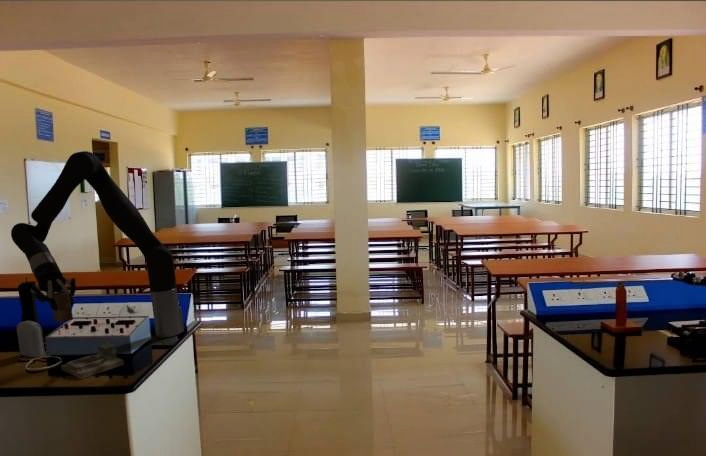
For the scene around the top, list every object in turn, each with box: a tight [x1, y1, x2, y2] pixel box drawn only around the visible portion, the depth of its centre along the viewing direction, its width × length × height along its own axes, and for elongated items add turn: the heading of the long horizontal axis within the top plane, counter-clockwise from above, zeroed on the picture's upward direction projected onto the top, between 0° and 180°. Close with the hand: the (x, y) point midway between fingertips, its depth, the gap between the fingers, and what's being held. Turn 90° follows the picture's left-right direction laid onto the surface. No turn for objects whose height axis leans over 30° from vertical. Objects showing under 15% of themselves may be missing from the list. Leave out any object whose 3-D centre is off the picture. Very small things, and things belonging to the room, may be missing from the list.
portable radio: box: [17, 277, 44, 336], centre depth 202 cm, size 8×6×25 cm
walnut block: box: [52, 292, 74, 324], centre depth 167 cm, size 4×5×9 cm
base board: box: [61, 342, 125, 380], centre depth 161 cm, size 13×15×6 cm
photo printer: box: [16, 321, 46, 358], centre depth 180 cm, size 10×4×12 cm, turn 60°
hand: (63, 307), depth 166 cm, fingers closed on walnut block, 4 cm apart
